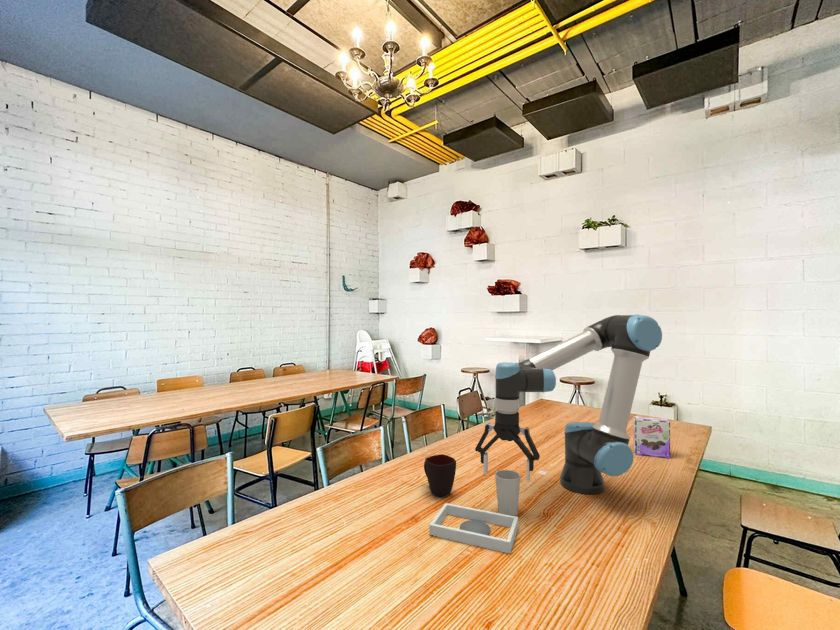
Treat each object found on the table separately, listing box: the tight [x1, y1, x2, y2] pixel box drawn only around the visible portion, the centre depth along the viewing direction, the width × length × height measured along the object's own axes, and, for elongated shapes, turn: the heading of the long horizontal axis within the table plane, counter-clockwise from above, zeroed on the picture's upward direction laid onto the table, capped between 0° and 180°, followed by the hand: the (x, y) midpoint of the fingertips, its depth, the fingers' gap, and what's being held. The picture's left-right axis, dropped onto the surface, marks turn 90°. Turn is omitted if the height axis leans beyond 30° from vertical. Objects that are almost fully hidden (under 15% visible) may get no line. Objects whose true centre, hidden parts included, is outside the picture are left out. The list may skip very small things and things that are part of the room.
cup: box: [494, 469, 521, 517], centre depth 124 cm, size 8×8×12 cm
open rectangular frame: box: [428, 502, 519, 555], centre depth 113 cm, size 23×14×3 cm, turn 67°
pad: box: [459, 519, 492, 536], centre depth 114 cm, size 9×9×1 cm
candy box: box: [632, 415, 671, 459], centre depth 175 cm, size 14×6×16 cm, turn 68°
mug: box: [423, 454, 457, 499], centre depth 139 cm, size 10×14×12 cm
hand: (506, 477), depth 124 cm, fingers open, 13 cm apart
